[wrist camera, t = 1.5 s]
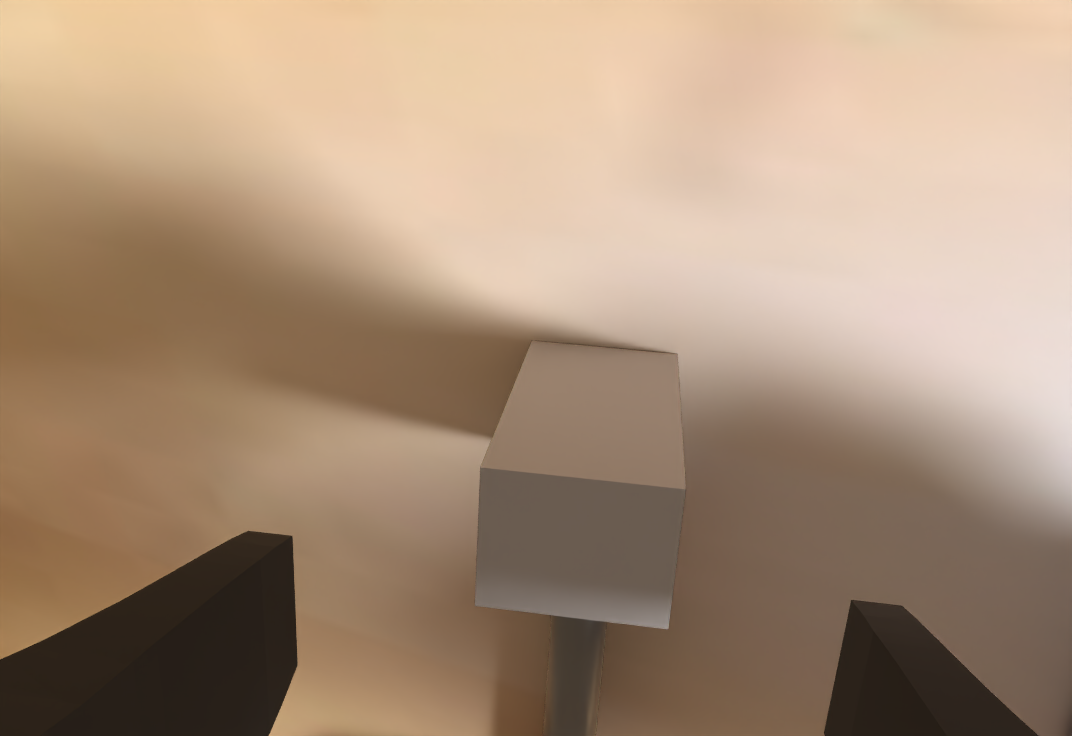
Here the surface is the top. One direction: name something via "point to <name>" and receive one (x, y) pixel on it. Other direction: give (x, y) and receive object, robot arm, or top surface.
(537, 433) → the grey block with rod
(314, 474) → the top surface
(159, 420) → the top surface
